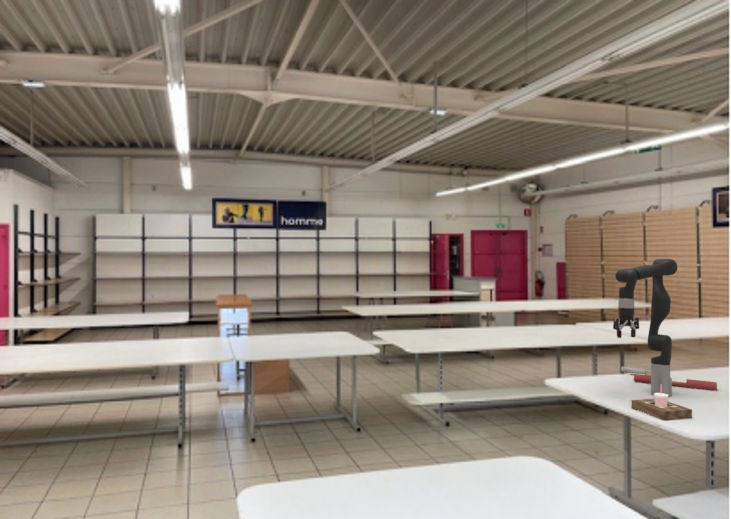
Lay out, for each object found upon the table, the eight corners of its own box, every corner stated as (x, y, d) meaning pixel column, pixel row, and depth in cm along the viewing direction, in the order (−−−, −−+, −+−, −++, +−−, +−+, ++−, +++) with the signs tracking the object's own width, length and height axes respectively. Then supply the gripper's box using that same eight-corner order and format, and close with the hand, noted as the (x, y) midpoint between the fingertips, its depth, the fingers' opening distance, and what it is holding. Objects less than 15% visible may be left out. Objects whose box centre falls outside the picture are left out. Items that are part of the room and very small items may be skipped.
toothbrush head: (624, 365, 340) (656, 368, 317) (625, 375, 339) (658, 379, 316) (618, 366, 338) (650, 368, 315) (619, 376, 338) (651, 379, 314)
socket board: (657, 406, 258) (657, 397, 258) (692, 418, 238) (692, 409, 238) (631, 408, 254) (631, 399, 254) (663, 420, 234) (663, 411, 235)
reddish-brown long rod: (716, 390, 293) (716, 381, 293) (717, 391, 289) (717, 383, 289) (634, 381, 314) (634, 373, 314) (633, 382, 310) (633, 374, 310)
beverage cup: (671, 414, 244) (671, 385, 244) (661, 415, 242) (661, 385, 242) (660, 410, 250) (660, 382, 250) (650, 411, 248) (650, 382, 248)
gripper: (632, 306, 275) (632, 336, 275) (609, 306, 272) (609, 336, 272) (642, 307, 268) (642, 338, 268) (620, 307, 264) (619, 338, 264)
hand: (626, 337), depth 270 cm, fingers open, 8 cm apart
